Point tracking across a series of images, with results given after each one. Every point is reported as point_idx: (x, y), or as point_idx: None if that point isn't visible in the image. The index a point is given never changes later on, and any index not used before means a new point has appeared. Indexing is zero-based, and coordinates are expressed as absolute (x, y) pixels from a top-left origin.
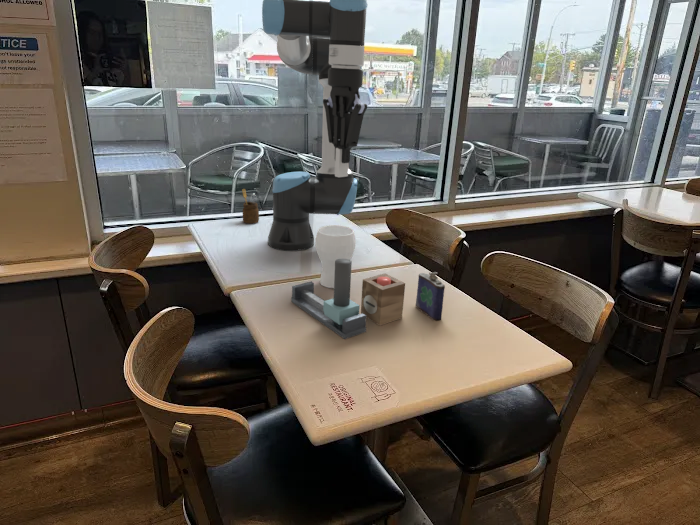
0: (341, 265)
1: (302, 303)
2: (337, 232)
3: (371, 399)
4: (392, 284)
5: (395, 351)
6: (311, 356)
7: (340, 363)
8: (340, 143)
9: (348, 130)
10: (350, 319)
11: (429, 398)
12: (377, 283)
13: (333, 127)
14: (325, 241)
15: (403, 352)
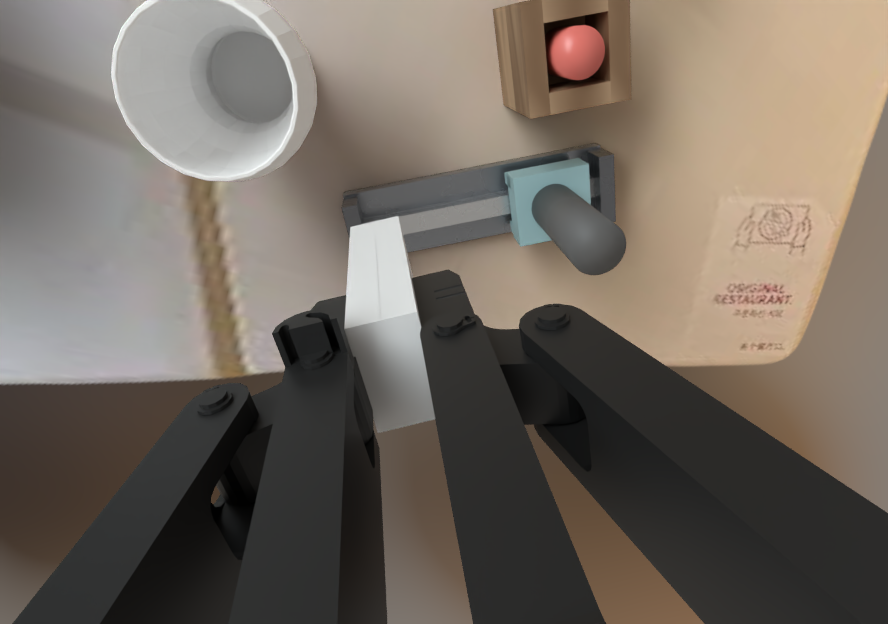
0: (615, 263)
1: (407, 247)
2: (130, 39)
3: (793, 256)
4: (614, 38)
5: (705, 122)
6: (619, 300)
7: (672, 259)
8: (364, 412)
9: (641, 545)
10: (612, 206)
11: (864, 155)
12: (582, 86)
13: (205, 602)
14: (276, 167)
15: (720, 105)
